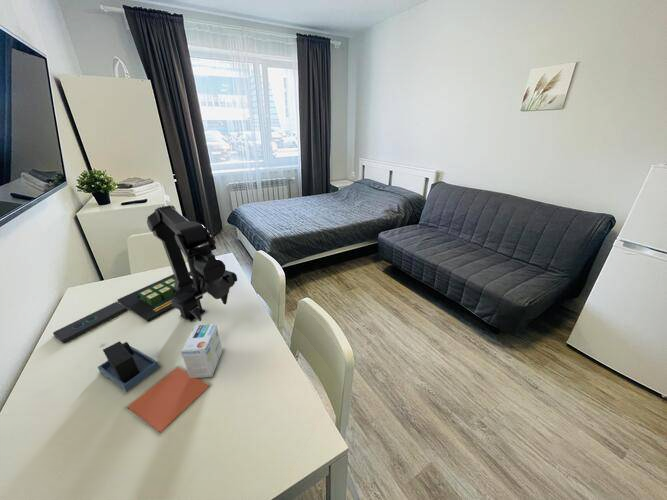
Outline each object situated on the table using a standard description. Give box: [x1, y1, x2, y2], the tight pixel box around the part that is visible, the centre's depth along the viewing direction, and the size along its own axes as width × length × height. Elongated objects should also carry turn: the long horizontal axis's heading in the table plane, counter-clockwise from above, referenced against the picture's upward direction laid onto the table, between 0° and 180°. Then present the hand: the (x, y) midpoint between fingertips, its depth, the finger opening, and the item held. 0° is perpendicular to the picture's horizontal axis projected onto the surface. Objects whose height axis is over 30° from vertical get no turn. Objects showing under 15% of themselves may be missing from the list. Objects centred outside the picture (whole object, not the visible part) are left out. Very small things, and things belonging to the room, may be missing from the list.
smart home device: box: [52, 301, 128, 344], centre depth 100 cm, size 8×2×20 cm
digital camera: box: [102, 341, 140, 383], centre depth 78 cm, size 10×5×7 cm, turn 52°
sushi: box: [116, 273, 176, 322], centre depth 115 cm, size 25×25×4 cm
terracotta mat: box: [127, 367, 210, 433], centre depth 72 cm, size 14×14×1 cm
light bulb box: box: [180, 323, 223, 379], centre depth 80 cm, size 11×7×11 cm, turn 5°
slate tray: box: [97, 345, 160, 393], centre depth 80 cm, size 9×14×2 cm, turn 62°
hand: (212, 311), depth 84 cm, fingers open, 9 cm apart
